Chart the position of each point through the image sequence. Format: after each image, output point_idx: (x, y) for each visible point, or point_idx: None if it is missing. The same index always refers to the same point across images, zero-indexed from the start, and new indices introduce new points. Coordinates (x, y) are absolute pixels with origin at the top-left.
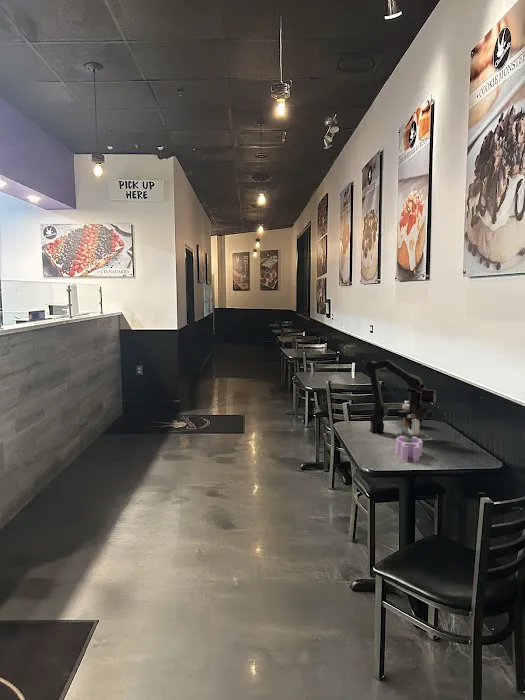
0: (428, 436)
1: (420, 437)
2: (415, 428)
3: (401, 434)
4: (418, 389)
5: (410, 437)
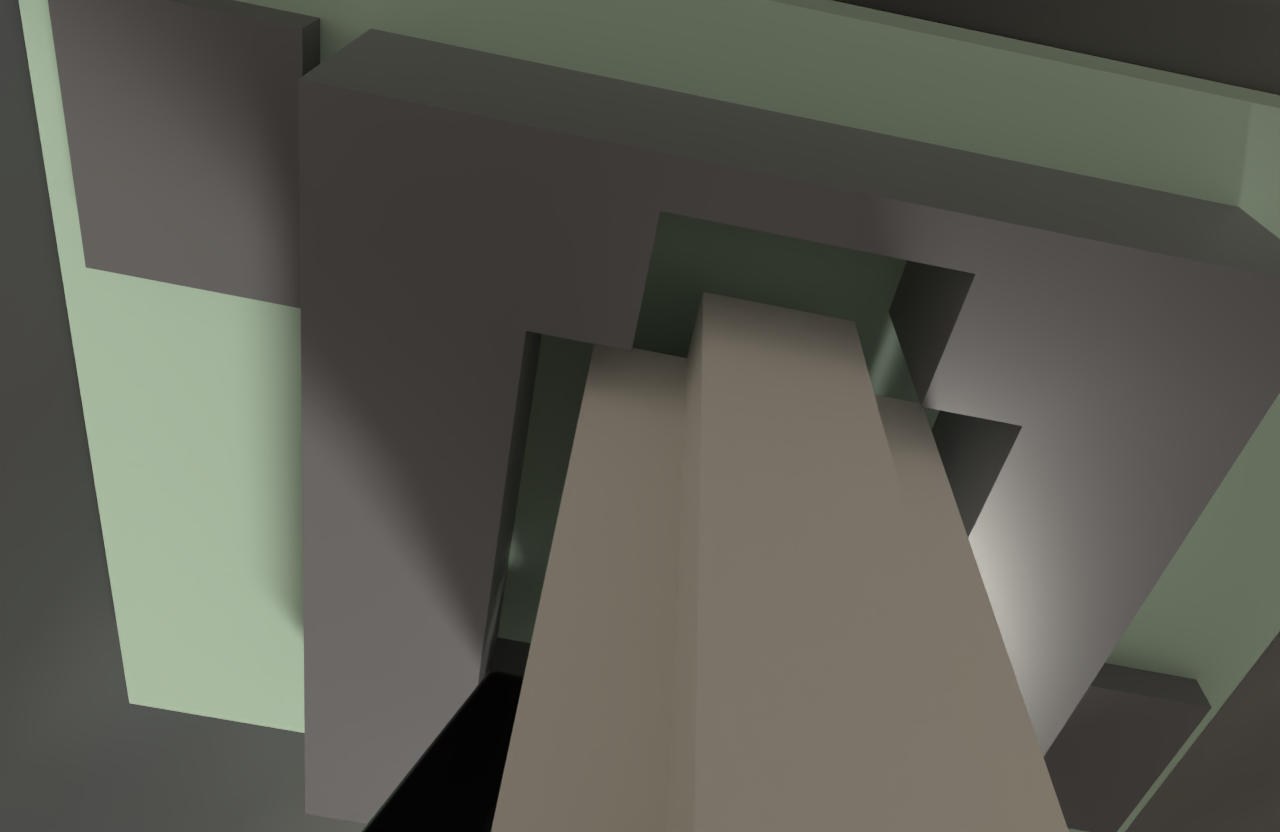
0: (124, 139)
1: (674, 107)
2: (928, 610)
3: (1073, 728)
4: None
5: (1260, 232)
